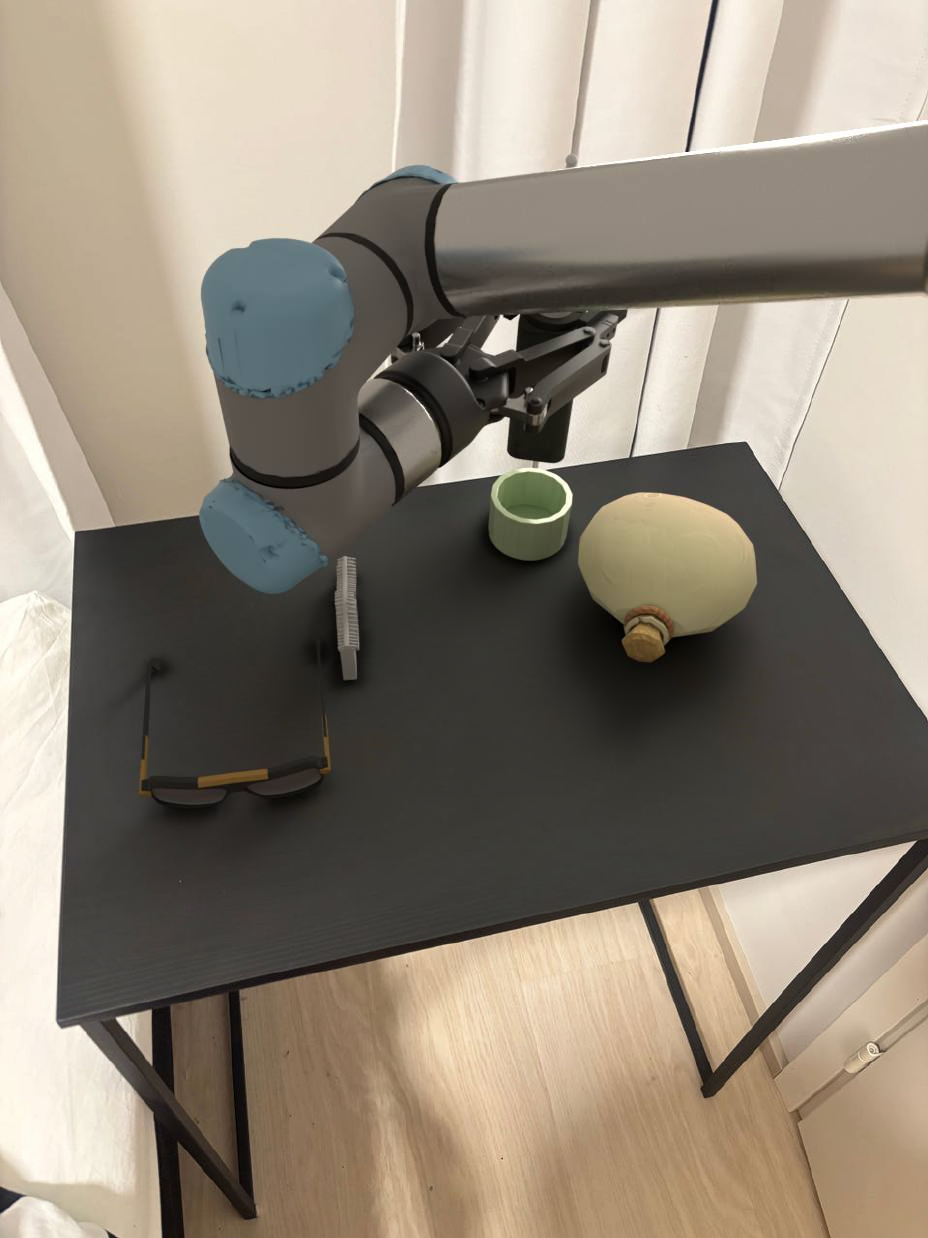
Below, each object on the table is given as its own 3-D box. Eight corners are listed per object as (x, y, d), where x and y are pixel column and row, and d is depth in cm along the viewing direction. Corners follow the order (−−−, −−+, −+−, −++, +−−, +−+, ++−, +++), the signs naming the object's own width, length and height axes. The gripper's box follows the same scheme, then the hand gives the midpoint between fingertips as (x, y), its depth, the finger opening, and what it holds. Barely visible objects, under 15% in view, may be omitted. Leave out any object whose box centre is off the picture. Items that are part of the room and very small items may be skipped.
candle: (512, 420, 84) (539, 133, 64) (568, 428, 83) (612, 141, 64) (505, 457, 80) (531, 166, 61) (563, 465, 80) (608, 175, 61)
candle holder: (578, 523, 91) (585, 485, 88) (544, 571, 87) (550, 534, 83) (511, 495, 94) (514, 457, 90) (474, 541, 89) (476, 503, 86)
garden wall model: (338, 579, 86) (333, 534, 81) (357, 578, 86) (353, 533, 81) (340, 684, 78) (335, 641, 74) (361, 683, 78) (357, 640, 74)
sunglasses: (321, 647, 81) (316, 610, 77) (335, 802, 71) (329, 769, 67) (157, 665, 79) (143, 629, 75) (149, 827, 69) (132, 795, 66)
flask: (752, 563, 88) (721, 716, 78) (591, 522, 91) (541, 664, 81) (780, 495, 81) (751, 654, 71) (604, 452, 84) (551, 599, 74)
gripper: (307, 412, 69) (492, 284, 81) (513, 529, 62) (682, 370, 74) (296, 324, 63) (497, 200, 75) (522, 441, 56) (704, 284, 68)
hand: (588, 285), depth 74 cm, fingers closed on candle, 6 cm apart
